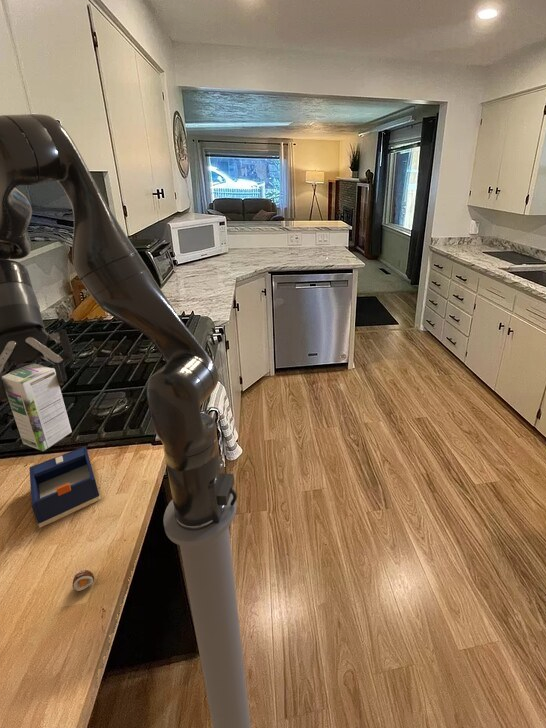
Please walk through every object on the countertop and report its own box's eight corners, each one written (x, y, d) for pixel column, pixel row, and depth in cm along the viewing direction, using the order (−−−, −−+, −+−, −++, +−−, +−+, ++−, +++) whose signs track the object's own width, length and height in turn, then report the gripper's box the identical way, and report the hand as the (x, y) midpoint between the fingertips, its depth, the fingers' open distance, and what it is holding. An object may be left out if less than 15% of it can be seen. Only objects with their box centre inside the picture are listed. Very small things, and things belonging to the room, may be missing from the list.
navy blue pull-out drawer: (101, 501, 73) (93, 474, 70) (39, 530, 67) (29, 501, 64) (91, 464, 82) (84, 439, 79) (36, 487, 76) (27, 460, 73)
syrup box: (21, 444, 66) (-3, 377, 61) (53, 424, 71) (34, 361, 66) (42, 452, 64) (20, 383, 59) (74, 431, 70) (55, 366, 65)
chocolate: (97, 573, 60) (92, 557, 58) (95, 586, 58) (90, 569, 56) (76, 581, 58) (70, 564, 57) (73, 595, 57) (67, 578, 55)
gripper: (-45, 311, 60) (-28, 401, 56) (58, 295, 69) (80, 372, 65) (-32, 329, 66) (-15, 412, 62) (62, 312, 75) (82, 384, 70)
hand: (33, 391), depth 63 cm, fingers closed on syrup box, 7 cm apart
